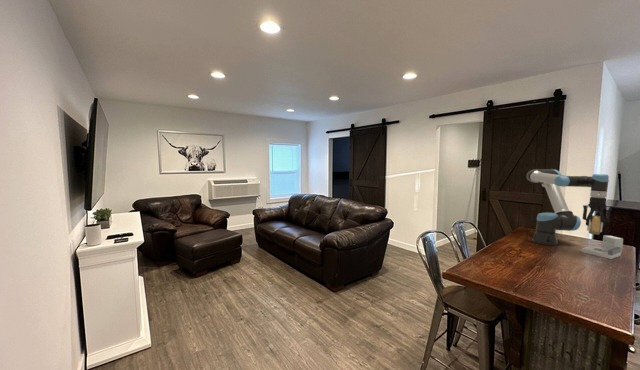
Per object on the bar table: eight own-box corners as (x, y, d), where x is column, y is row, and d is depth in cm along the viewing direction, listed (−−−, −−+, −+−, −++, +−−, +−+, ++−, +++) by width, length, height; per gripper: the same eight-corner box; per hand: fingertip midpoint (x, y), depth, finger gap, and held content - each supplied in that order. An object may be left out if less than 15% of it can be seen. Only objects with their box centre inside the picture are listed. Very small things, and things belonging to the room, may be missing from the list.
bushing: (590, 233, 175) (592, 216, 174) (587, 232, 180) (589, 215, 178) (600, 235, 173) (602, 217, 172) (597, 233, 177) (599, 215, 176)
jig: (581, 251, 184) (581, 244, 183) (590, 248, 190) (591, 241, 190) (611, 259, 170) (612, 251, 170) (620, 255, 177) (621, 247, 176)
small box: (622, 253, 181) (623, 238, 180) (613, 253, 181) (615, 238, 180) (609, 249, 189) (611, 235, 188) (601, 249, 189) (603, 235, 188)
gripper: (581, 196, 175) (577, 230, 178) (620, 199, 166) (615, 234, 168) (578, 195, 182) (574, 227, 184) (615, 197, 172) (611, 231, 175)
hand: (594, 231), depth 176 cm, fingers closed on bushing, 5 cm apart
